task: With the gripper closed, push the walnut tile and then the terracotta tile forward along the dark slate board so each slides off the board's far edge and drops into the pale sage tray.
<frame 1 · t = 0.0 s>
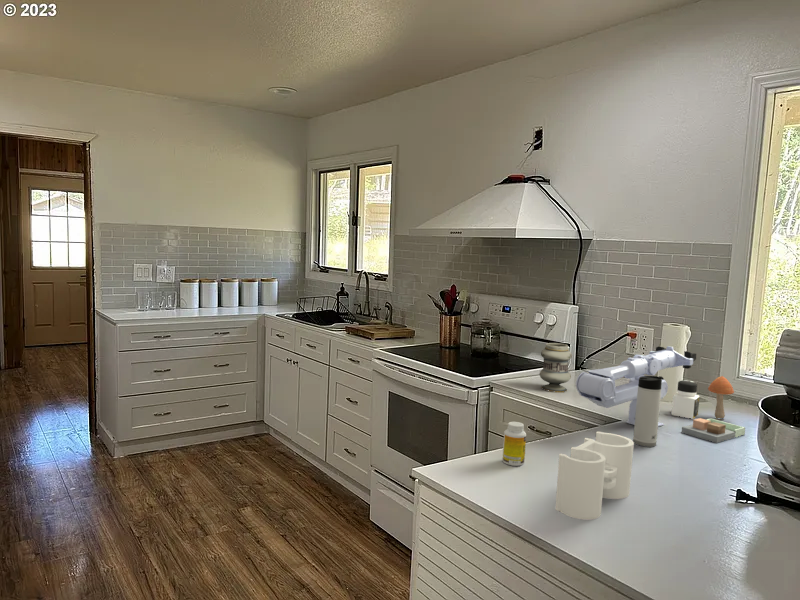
hand: (684, 354, 206), 22 cm above the worktop, tool horizontal, fingers open, 7 cm apart
medicine bottle: (684, 415, 211), on the worktop
mushroom: (717, 419, 208), on the worktop
apothecary jar: (553, 389, 240), on the worktop
supplement bottle: (513, 463, 155), on the worktop
walnut tile: (715, 432, 186), point 2 cm above the worktop, touching slate board
slate board: (708, 435, 188), on the worktop
travel mug: (645, 444, 177), on the worktop
terracotta tile: (701, 427, 189), point 2 cm above the worktop, touching slate board
sage tray: (717, 432, 191), on the worktop
bracket: (594, 500, 135), on the worktop
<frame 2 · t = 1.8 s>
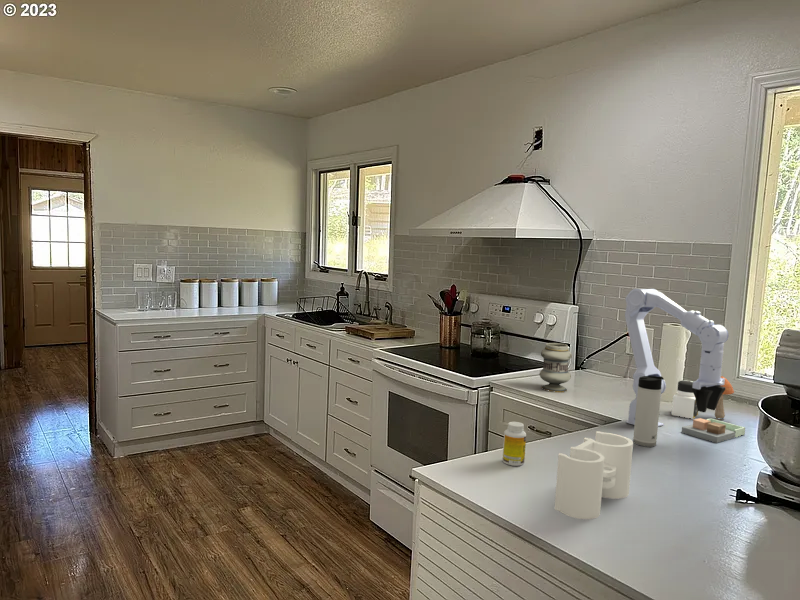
hand: (706, 410, 181), 9 cm above the worktop, tool pointing down, fingers open, 5 cm apart
nothing on the worktop moved.
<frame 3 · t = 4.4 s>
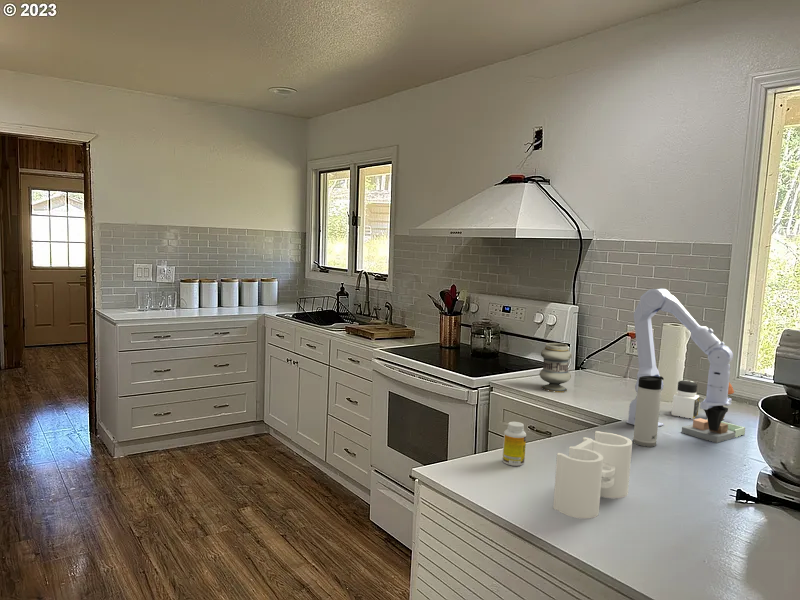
hand: (713, 429, 185), 3 cm above the worktop, tool pointing down, fingers closed
walnut tile: (718, 431, 187), point 2 cm above the worktop, touching slate board
everything else where it was.
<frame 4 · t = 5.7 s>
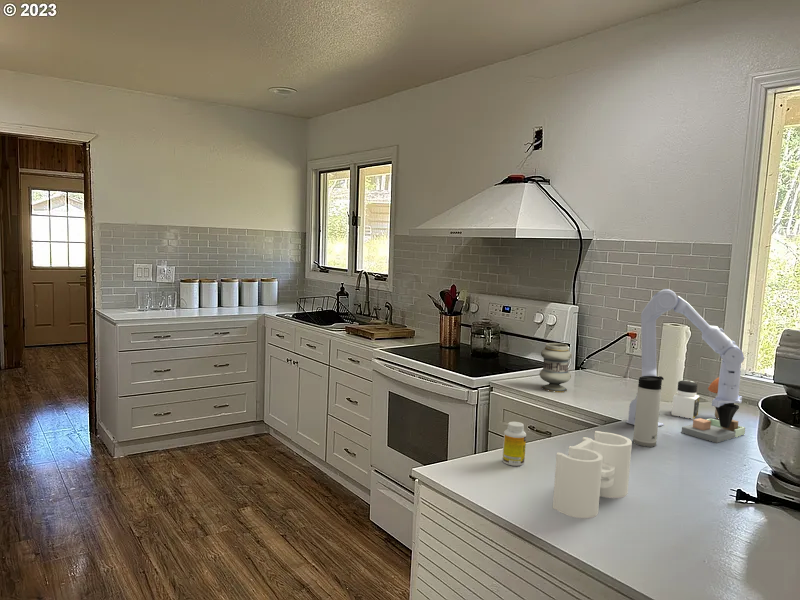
hand: (724, 426, 189), 3 cm above the worktop, tool pointing down, fingers closed
walnut tile: (728, 427, 190), point 2 cm above the worktop, tilted 90°, touching sage tray
everything else where it was.
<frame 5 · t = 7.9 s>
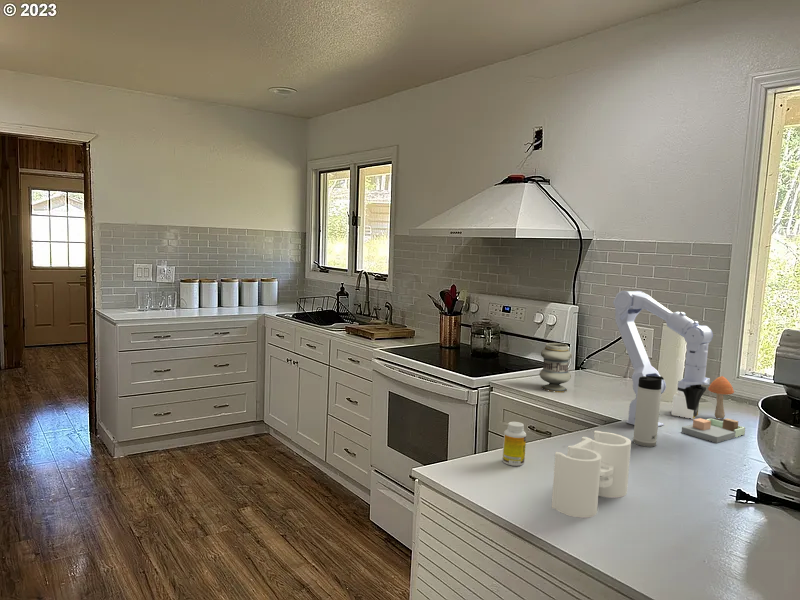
hand: (691, 409, 185), 9 cm above the worktop, tool pointing down, fingers closed
nothing on the worktop moved.
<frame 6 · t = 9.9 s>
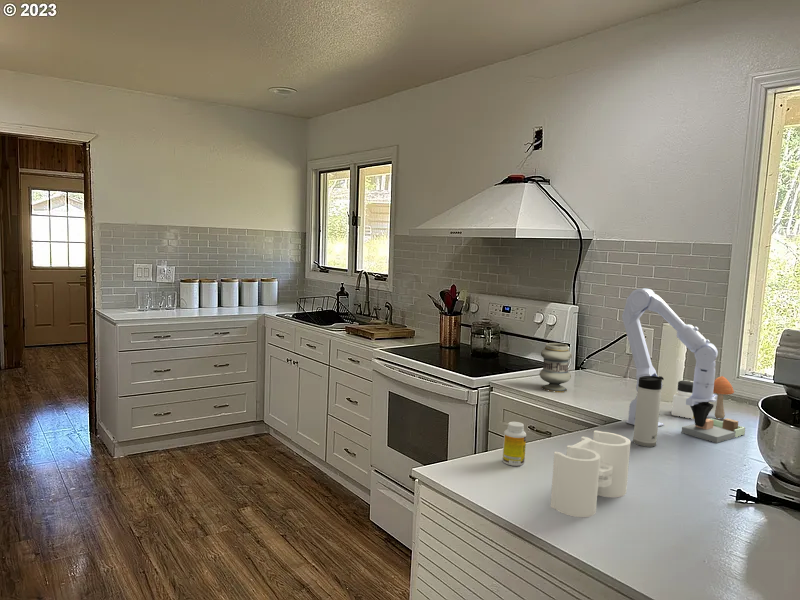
hand: (699, 425, 188), 3 cm above the worktop, tool pointing down, fingers closed
terracotta tile: (704, 427, 190), point 2 cm above the worktop, touching gripper
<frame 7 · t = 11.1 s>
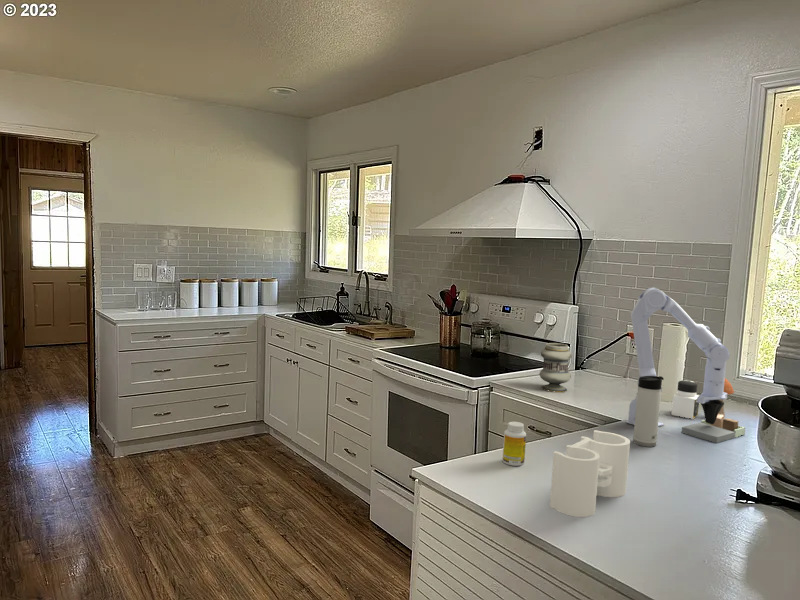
hand: (709, 423, 192), 3 cm above the worktop, tool pointing down, fingers closed
terracotta tile: (715, 422, 194), point 2 cm above the worktop, tilted 71°, touching sage tray
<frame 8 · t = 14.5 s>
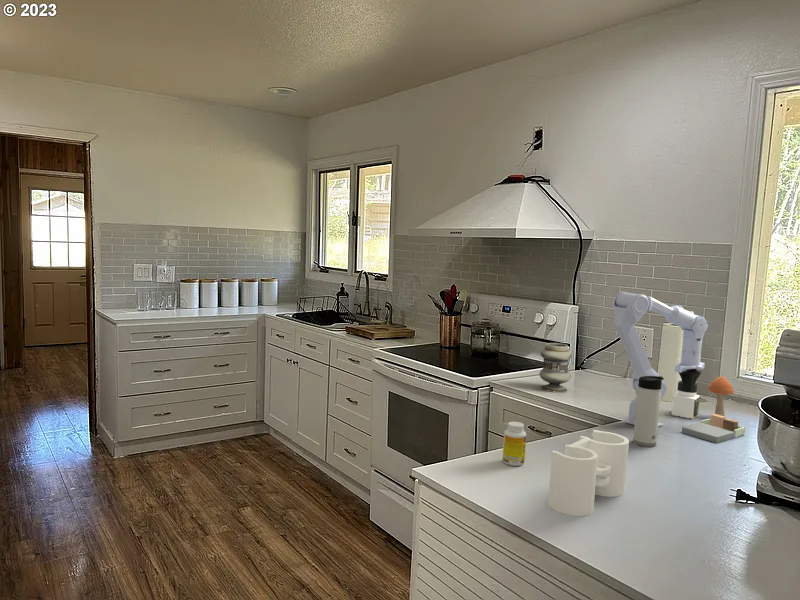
hand: (687, 391, 200), 10 cm above the worktop, tool pointing down, fingers closed
terracotta tile: (715, 422, 195), point 2 cm above the worktop, tilted 90°, touching sage tray
at the end: walnut tile inside the target area on the sage tray (3.3 cm from its centre), point 2.4 cm above the sage tray's base; terracotta tile inside the target area on the sage tray (2.3 cm from its centre), point 2.4 cm above the sage tray's base; terracotta tile touching sage tray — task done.
